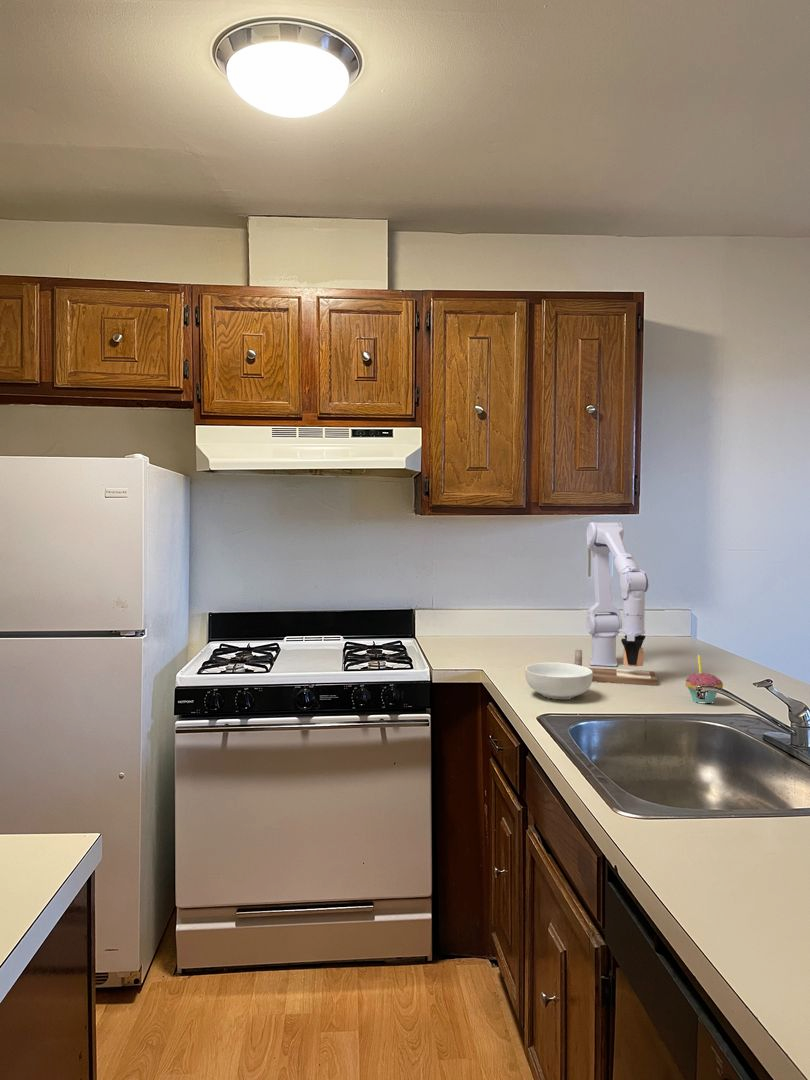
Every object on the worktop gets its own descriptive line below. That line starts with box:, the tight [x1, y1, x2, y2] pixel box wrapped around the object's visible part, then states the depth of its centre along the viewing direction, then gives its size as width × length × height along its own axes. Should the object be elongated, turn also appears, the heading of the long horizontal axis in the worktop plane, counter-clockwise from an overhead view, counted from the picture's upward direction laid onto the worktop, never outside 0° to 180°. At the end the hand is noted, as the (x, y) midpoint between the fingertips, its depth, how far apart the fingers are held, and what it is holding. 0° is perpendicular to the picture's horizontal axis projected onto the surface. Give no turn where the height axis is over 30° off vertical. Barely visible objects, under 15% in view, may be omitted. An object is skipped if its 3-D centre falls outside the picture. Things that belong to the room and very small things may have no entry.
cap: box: [623, 646, 645, 667], centre depth 201 cm, size 5×5×5 cm
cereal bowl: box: [524, 661, 593, 700], centre depth 183 cm, size 17×17×7 cm
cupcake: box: [685, 652, 724, 704], centre depth 178 cm, size 9×8×12 cm
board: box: [574, 649, 658, 687], centre depth 203 cm, size 11×28×8 cm, turn 74°
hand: (633, 662), depth 201 cm, fingers closed on cap, 5 cm apart
